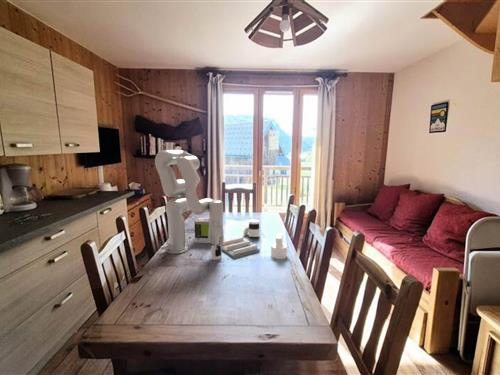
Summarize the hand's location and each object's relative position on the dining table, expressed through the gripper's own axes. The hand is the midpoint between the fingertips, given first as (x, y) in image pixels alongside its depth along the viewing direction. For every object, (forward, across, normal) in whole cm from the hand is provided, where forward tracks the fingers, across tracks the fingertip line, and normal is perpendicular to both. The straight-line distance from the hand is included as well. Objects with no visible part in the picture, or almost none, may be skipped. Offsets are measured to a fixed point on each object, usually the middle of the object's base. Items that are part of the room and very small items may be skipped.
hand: (216, 254), depth 143 cm
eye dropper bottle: (+3, 0, 0) cm, 3 cm away
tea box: (+3, -28, +8) cm, 29 cm away
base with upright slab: (+3, +16, +32) cm, 36 cm away
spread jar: (+3, -19, +37) cm, 42 cm away
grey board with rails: (+3, -4, +17) cm, 18 cm away
